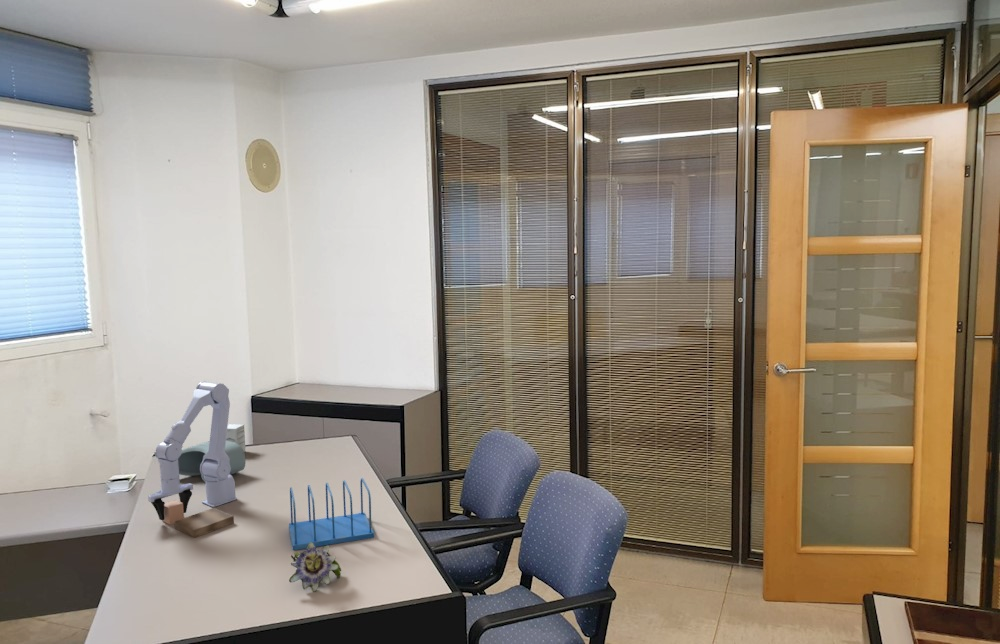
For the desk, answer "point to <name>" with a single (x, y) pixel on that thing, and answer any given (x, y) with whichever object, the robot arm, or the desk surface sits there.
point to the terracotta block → (173, 512)
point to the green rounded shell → (194, 455)
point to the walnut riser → (204, 522)
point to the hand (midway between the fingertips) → (172, 515)
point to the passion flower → (314, 567)
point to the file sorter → (330, 524)
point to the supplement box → (236, 434)
